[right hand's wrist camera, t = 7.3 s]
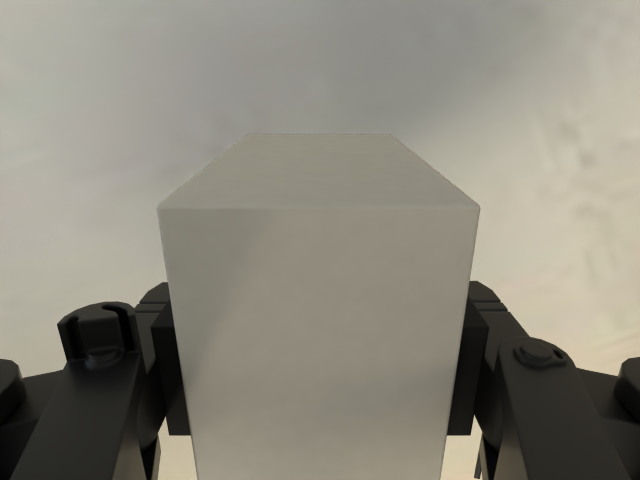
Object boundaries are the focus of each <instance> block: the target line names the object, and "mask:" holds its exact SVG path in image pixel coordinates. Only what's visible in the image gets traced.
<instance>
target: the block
mask: <svg viewBox="0 0 640 480" xmlns="http://www.w3.org/2000/svg"><path fill="white" fill-rule="evenodd" d="M157 213H158V220H159V226H160V233H161V240H162V246H163V253H164V260H165V266H166V273H167V279H168V286H169V293H170V299H171V306H172V313H173V319H174V326H175V332H176V339H177V346H178V352H179V359H180V366H181V372H182V379H183V385H184V392H185V399H186V405H187V412H188V419H189V425H190V432H191V439H192V445H193V452H194V458H195V465H196V472H197V478H198V480H440V477H441V470H442V464H443V457H444V450H445V443H446V437H447V430H448V423H449V416H450V409H451V403H452V396H453V389H454V382H455V376H456V369H457V362H458V355H459V349H460V342H461V335H462V328H463V322H464V315H465V308H466V301H467V295H468V288H469V281H470V274H471V268H472V261H473V254H474V247H475V241H476V234H477V227H478V220H479V214H480V206H479V204H477V203H476V202H475V201H474V200H472V199H471V198H470V197H469V196H467V195H466V194H465V193H464V192H462V191H461V190H460V189H459V188H457V187H456V186H455V185H454V184H452V183H451V182H450V181H449V180H447V179H446V178H445V177H444V176H443V175H441V174H440V173H439V172H438V171H436V170H435V169H434V168H433V167H431V166H430V165H429V164H428V163H426V162H425V161H424V160H423V159H421V158H420V157H419V156H418V155H416V154H415V153H414V152H413V151H411V150H410V149H409V148H408V147H406V146H405V145H404V144H403V143H401V142H400V141H399V140H398V139H397V138H395V137H394V136H393V135H391V134H247V135H246V136H245V137H243V138H242V139H241V140H240V141H238V142H237V143H236V144H234V145H233V146H232V147H231V148H229V149H228V150H227V151H226V152H224V153H223V154H222V155H221V156H219V157H218V158H217V159H215V160H214V161H213V162H212V163H210V164H209V165H208V166H207V167H205V168H204V169H203V170H202V171H200V172H199V173H198V174H197V175H195V176H194V177H193V178H191V179H190V180H189V181H188V182H186V183H185V184H184V185H183V186H181V187H180V188H179V189H178V190H176V191H175V192H174V193H172V194H171V195H170V196H169V197H167V198H166V199H165V200H164V201H162V202H161V203H160V204H159V205H158V206H157Z"/></svg>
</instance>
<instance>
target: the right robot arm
mask: <svg viewBox="0 0 640 480" xmlns="http://www.w3.org/2000/svg"><path fill="white" fill-rule="evenodd" d="M57 326H58V330H59V334H60V337H61V341H62V345H63V348H64V352H65V356H66V359H67V363H66V365H65V367H64V369H63V370H60V371H56V372H51V373H46V374H41V375H36V376H31V377H26V378H22V376H21V373H20V370H19V366H18V365H17V364H16V363H14V362H13V361H12V360H4V359H0V480H157V479H158V471H159V463H160V454H161V449H160V442H159V437H158V432H159V429H160V427H161V425H162V423H163V421H164V418H165V416H166V420H167V426H168V431H169V435H191V432H190V425H189V419H188V412H187V405H186V399H185V392H184V385H183V379H182V372H181V366H180V359H179V352H178V346H177V339H176V332H175V326H174V319H173V313H172V306H171V299H170V293H169V286H168V282H162V283H161V284H159V285H158V286H156V287H154V288H153V289H151V290H149V291H148V292H147V293H146V294H145V296H144V297H143V298H142V299H141V301H140V302H139V304H137V306H136V307H135V308H133V307H132V306H131V305H129V304H127V303H122V302H102V303H97V304H92V305H88V306H85V307H83V308H80V309H77V310H75V311H73V312H72V313H70V314H68V315H66V316H65V317H64V318H63V319H62V320H61V321H60V322H59V323H58V324H57ZM474 415H475V417H476V419H477V421H478V424H479V426H480V428H481V430H482V437H481V442H480V447H479V452H478V458H477V463H476V468H475V475H474V478H477V479H480V475H481V470H482V478H483V480H640V357H636V358H629V359H627V360H626V361H625V362H623V363H622V365H621V368H620V371H619V375H618V376H614V375H609V374H604V373H599V372H593V371H588V370H584V369H580V368H576V366H575V364H574V362H573V361H572V359H571V358H570V357H569V356H568V354H567V353H566V352H564V351H563V350H561V349H560V348H558V347H557V346H555V345H553V344H551V343H549V342H546V341H544V340H541V339H537V338H533V337H530V336H529V335H528V334H527V333H526V332H525V330H524V329H523V328H522V327H521V325H520V324H519V323H518V322H517V320H516V319H515V318H514V317H513V315H512V314H511V313H510V312H508V309H507V308H506V307H505V305H504V304H503V303H501V302H500V299H499V298H498V297H497V296H496V294H495V293H494V292H493V291H492V290H491V289H490V288H488V287H486V286H485V285H483V284H481V283H480V282H478V281H469V288H468V295H467V301H466V308H465V315H464V322H463V328H462V335H461V342H460V349H459V355H458V362H457V369H456V376H455V382H454V389H453V396H452V403H451V409H450V416H449V423H448V430H447V435H471V430H472V424H473V418H474Z"/></svg>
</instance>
